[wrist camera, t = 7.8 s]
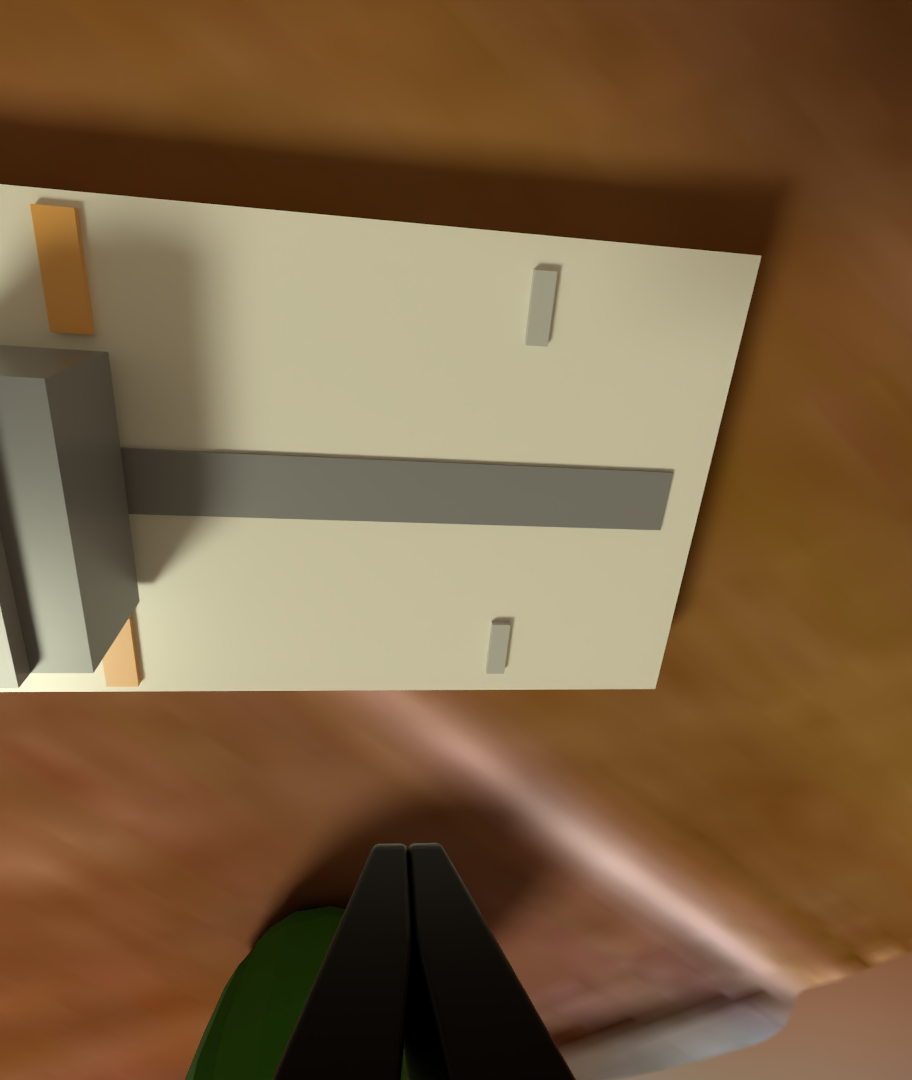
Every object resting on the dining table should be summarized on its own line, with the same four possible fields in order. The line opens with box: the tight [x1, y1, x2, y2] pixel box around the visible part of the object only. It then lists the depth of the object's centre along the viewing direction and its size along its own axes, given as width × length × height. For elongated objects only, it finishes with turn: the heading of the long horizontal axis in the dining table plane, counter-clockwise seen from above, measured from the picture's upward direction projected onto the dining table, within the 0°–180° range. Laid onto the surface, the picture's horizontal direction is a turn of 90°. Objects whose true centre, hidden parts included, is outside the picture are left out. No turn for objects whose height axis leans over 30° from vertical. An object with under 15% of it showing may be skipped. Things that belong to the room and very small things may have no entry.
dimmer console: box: [0, 184, 761, 692], centre depth 17 cm, size 22×12×2 cm, turn 85°
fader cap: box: [0, 345, 140, 688], centre depth 13 cm, size 3×6×4 cm, turn 175°
